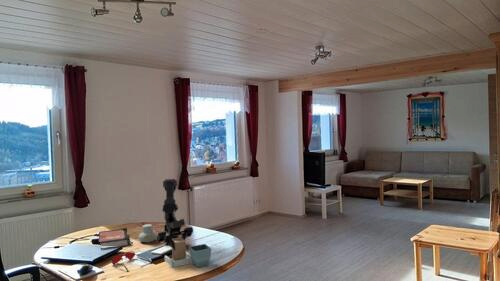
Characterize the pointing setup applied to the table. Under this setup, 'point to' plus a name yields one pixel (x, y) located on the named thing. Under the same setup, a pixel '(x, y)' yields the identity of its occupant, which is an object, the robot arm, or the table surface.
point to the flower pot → (200, 254)
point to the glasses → (127, 255)
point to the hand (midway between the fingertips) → (179, 248)
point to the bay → (179, 261)
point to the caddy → (179, 249)
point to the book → (114, 237)
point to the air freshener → (147, 234)
